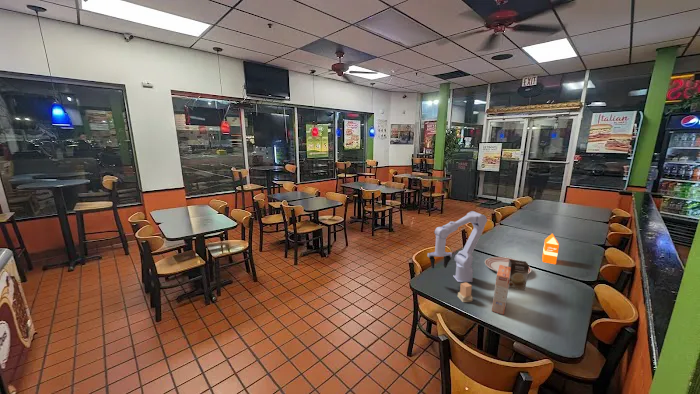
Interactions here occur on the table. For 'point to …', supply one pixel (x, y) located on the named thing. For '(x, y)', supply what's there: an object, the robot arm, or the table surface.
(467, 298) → the beech base
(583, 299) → the table surface
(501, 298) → the cracker box
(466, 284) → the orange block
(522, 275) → the coffee box
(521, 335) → the table surface
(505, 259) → the dinner plate
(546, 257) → the orange juice
